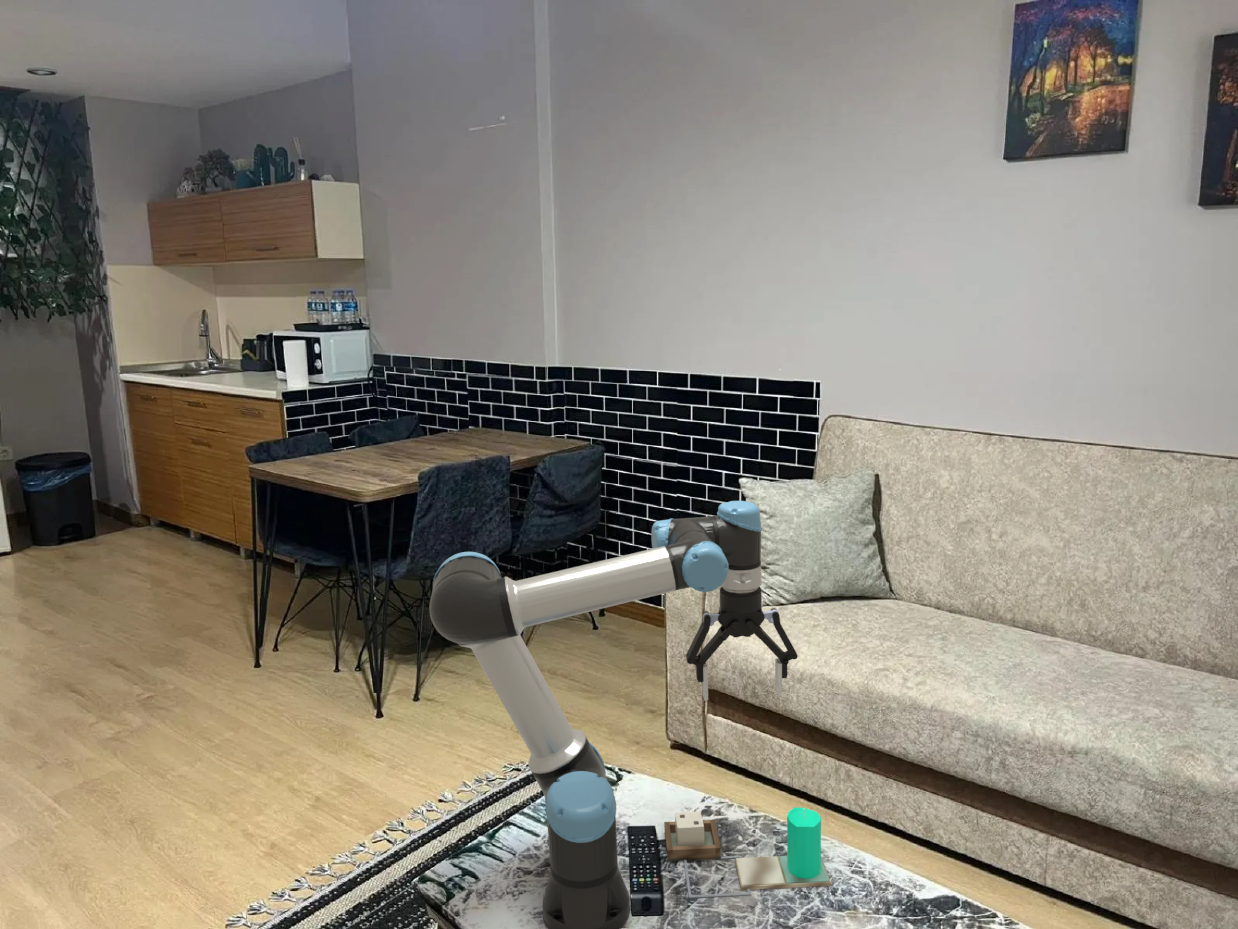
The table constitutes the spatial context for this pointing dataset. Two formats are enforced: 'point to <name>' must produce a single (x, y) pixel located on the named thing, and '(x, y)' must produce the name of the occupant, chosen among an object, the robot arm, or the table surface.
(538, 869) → the table surface
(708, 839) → the tray
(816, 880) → the beige green flat slab
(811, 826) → the candle
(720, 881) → the table surface
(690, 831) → the die
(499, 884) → the table surface
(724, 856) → the pad
